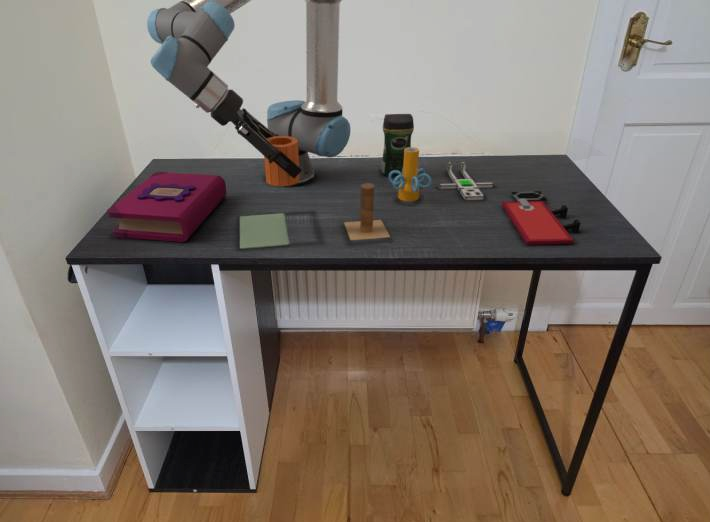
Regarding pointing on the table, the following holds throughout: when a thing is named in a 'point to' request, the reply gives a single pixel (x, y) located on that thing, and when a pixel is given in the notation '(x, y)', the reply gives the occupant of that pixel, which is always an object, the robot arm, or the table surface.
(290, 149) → the orange hollow tube
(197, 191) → the book
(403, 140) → the coffee jar
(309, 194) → the table surface
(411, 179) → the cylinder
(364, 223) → the peg stand
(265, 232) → the mat
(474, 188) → the robot figure
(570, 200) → the table surface
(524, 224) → the red board with handle
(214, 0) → the robot arm
